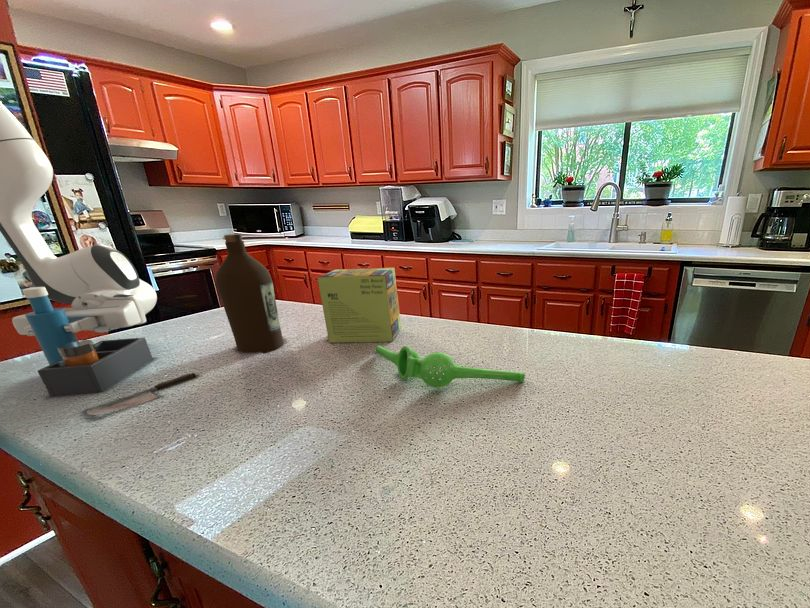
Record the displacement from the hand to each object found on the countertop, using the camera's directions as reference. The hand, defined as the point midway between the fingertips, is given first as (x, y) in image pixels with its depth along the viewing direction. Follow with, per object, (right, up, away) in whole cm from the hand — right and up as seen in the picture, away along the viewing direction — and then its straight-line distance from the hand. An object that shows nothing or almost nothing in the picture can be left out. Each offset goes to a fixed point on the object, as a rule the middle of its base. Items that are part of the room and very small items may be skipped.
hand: (49, 330), depth 76 cm
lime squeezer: (+73, -9, -2) cm, 74 cm away
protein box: (+55, 0, +21) cm, 59 cm away
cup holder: (+10, -9, +2) cm, 14 cm away
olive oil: (+32, -3, +16) cm, 36 cm away
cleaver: (+25, -12, -7) cm, 29 cm away
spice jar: (+11, -10, -2) cm, 15 cm away
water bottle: (0, -8, +4) cm, 10 cm away
